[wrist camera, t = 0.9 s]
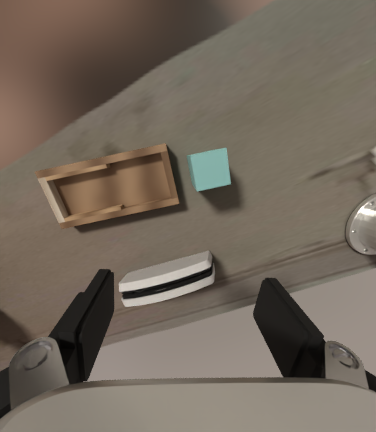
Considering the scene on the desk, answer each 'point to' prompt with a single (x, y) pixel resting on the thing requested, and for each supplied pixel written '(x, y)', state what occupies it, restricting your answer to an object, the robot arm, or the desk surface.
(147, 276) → the white piece
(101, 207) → the slot board
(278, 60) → the desk surface
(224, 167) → the aqua rectangular block
